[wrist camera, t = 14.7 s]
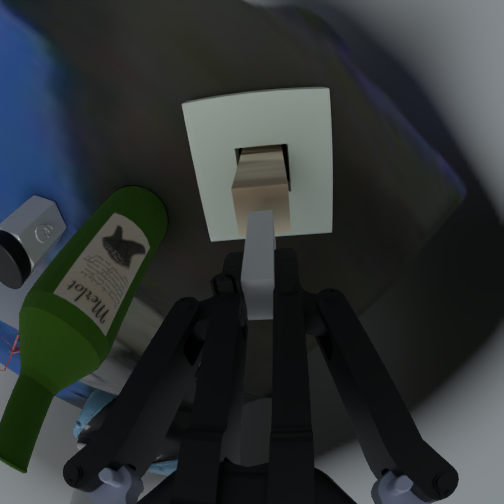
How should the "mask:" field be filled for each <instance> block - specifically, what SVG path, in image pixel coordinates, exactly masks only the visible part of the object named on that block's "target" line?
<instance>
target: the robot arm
mask: <svg viewBox="0 0 504 504" xmlns="http://www.w3.org/2000/svg"><path fill="white" fill-rule="evenodd" d="M210 283H211V286H212V290H213V293H214V296H213V297H211V298H209V299H207V300H203V301H200V302H198V301H197V300H196V299H195V298H193V297H184V298H181V299H180V300H178V301H177V302H176V303H175V304H174V305H173V307H172V308H171V310H170V312H169V313H168V315H167V316H166V318H165V319H164V321H163V323H162V324H161V326H160V328H159V329H158V331H157V332H156V334H155V336H154V337H153V339H152V340H151V342H150V344H149V345H148V347H147V349H146V350H145V352H144V354H143V355H142V357H141V359H140V360H139V362H138V364H137V365H136V367H135V369H134V370H133V372H132V374H131V375H130V377H129V379H128V380H127V382H126V384H125V385H124V387H123V389H122V391H121V392H120V394H119V396H117V395H112V394H110V393H107V392H105V391H102V390H96V391H94V392H93V393H92V394H91V395H90V397H89V398H88V400H87V402H86V403H85V405H84V407H83V409H82V411H81V413H80V415H79V417H78V420H77V422H76V424H75V426H74V429H73V435H74V436H75V437H77V438H78V442H77V448H78V449H79V452H78V453H76V454H75V455H74V456H73V457H72V458H71V459H70V460H68V461H67V463H66V464H65V465H64V468H63V477H64V479H65V481H66V482H67V484H68V485H69V486H71V487H73V488H74V489H73V494H72V498H71V503H70V504H357V503H356V502H355V501H354V500H353V499H352V498H351V497H350V496H348V495H347V494H346V493H345V492H344V491H343V490H342V489H341V488H340V487H339V486H338V485H337V484H336V483H335V482H334V481H333V480H332V479H331V478H330V477H329V476H328V475H327V474H325V473H324V472H322V471H321V470H319V469H317V468H314V447H313V446H314V444H313V432H312V425H311V406H310V389H309V375H308V362H307V348H306V336H305V333H306V334H311V335H315V338H316V340H317V343H318V345H319V347H320V349H321V352H322V354H323V356H324V359H325V361H326V363H327V366H328V368H329V371H330V373H331V375H332V378H333V380H334V382H335V384H336V386H337V389H338V392H339V394H340V397H341V399H342V401H343V404H344V406H345V409H346V411H347V413H348V416H349V419H350V421H351V423H352V426H353V428H354V431H355V433H356V436H357V438H358V441H359V443H360V446H361V448H362V451H363V453H364V456H365V458H366V461H367V463H368V465H369V467H370V469H371V471H372V472H373V474H374V475H375V477H376V478H377V479H378V480H377V481H376V482H375V483H374V485H373V487H372V490H371V496H372V498H373V501H374V503H375V504H431V503H433V502H435V501H439V500H442V499H444V498H447V497H448V496H450V495H451V494H452V493H453V492H454V491H455V489H456V487H457V485H458V480H459V478H458V473H457V471H456V470H455V469H454V468H453V466H451V465H450V464H449V463H448V462H447V461H446V460H445V459H444V458H443V457H441V456H440V455H439V454H438V453H437V452H436V451H435V450H434V449H433V448H432V447H430V446H429V445H428V444H427V443H426V442H425V441H424V440H423V439H422V437H421V435H420V433H419V431H418V429H417V427H416V425H415V423H414V421H413V419H412V417H411V415H410V413H409V411H408V409H407V407H406V405H405V403H404V401H403V400H402V397H401V395H400V394H399V392H398V390H397V388H396V386H395V384H394V382H393V380H392V379H391V377H390V375H389V373H388V371H387V369H386V368H385V365H384V364H383V362H382V360H381V358H380V356H379V355H378V353H377V351H376V349H375V348H374V346H373V344H372V342H371V341H370V339H369V337H368V335H367V333H366V332H365V330H364V328H363V326H362V325H361V323H360V321H359V320H358V318H357V316H356V315H355V313H354V311H353V309H352V308H351V306H350V304H349V303H348V301H347V299H346V298H345V296H344V295H343V293H342V292H341V291H339V290H337V289H332V288H329V289H324V290H322V291H320V292H319V293H318V294H313V293H309V292H307V291H305V290H304V289H302V287H301V286H300V283H299V274H298V266H297V257H296V253H295V251H294V250H293V249H292V248H286V249H276V241H275V231H274V220H273V210H264V211H251V212H249V215H248V224H247V232H246V240H245V248H244V252H237V253H229V254H228V256H227V257H226V258H225V261H224V266H223V271H222V273H220V274H218V275H216V276H215V277H213V278H212V280H211V282H210ZM247 316H248V320H262V319H273V375H272V426H271V434H270V450H269V463H265V464H261V465H256V466H252V467H244V466H241V465H240V452H239V442H240V430H241V415H242V403H243V390H244V376H245V363H246V349H247V336H248V326H247ZM200 362H201V364H200ZM199 364H200V369H197V368H198V366H199ZM146 471H148V472H152V473H156V474H161V475H168V477H167V478H166V479H164V480H163V481H162V482H161V483H160V484H159V485H158V486H157V487H155V488H154V489H153V490H152V491H150V492H149V493H148V494H147V495H146V496H144V497H143V498H142V499H141V500H139V501H138V502H137V500H138V497H139V495H140V493H142V492H143V490H144V486H143V482H142V480H141V477H142V476H143V475H144V474H145V473H146Z"/></svg>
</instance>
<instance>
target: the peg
mask: <svg viewBox="0 0 504 504" xmlns="http://www.w3.org/2000/svg"><path fill="white" fill-rule="evenodd" d="M231 191H232V197H233V203H234V209H235V215H236V221H237V226H238V232H239V236H246V232H247V224H248V215H249V212H251V211H264V210H273V220H274V231H275V234H277V233H290V232H291V222H290V206H289V192H288V181H287V176H286V170H285V164H284V158H283V150H282V147H281V144H276V145H265V146H254V147H245V148H243V150H242V153H241V154H240V160H239V163H238V167H237V170H236V174H235V177H234V181H233V184H232V188H231Z"/></svg>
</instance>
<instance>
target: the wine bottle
mask: <svg viewBox="0 0 504 504" xmlns="http://www.w3.org/2000/svg"><path fill="white" fill-rule="evenodd" d="M167 226H168V219H167V213H166V209H165V207H164V205H163V203H162V202H161V200H160V199H159V198H158V197H157V196H156V195H155V194H154V193H152V192H151V191H149V190H148V189H145V188H142V187H139V186H128V187H123V188H120V189H119V190H117V191H115V192H114V193H113V194H112V195H111V196H110V197H109V198H108V199H107V200H106V201H105V202H104V203H103V204H102V205H101V206H100V207H99V208H98V209H97V210H96V211H95V213H94V214H93V215H92V216H91V217H90V218H89V219H88V220H87V221H86V222H85V223H84V224H83V226H82V227H81V228H80V229H79V230H78V231H77V232H76V233H75V235H74V236H73V237H72V238H71V239H70V240H69V241H68V243H67V244H66V245H65V246H64V247H63V249H62V250H61V251H60V252H59V253H58V255H57V256H56V257H55V258H54V259H53V261H52V262H51V263H50V264H49V266H48V267H47V268H46V270H45V271H44V272H43V273H42V275H41V276H40V277H39V279H38V280H37V282H36V283H35V284H34V286H33V287H32V288H31V290H30V291H29V292H28V294H27V296H26V297H25V300H24V302H23V305H22V308H21V310H20V313H19V338H20V359H21V369H20V376H19V378H18V380H17V383H16V385H15V387H14V389H13V391H12V394H11V396H10V399H9V401H8V404H7V406H6V409H5V411H4V414H3V417H2V420H1V422H0V460H1V461H2V462H4V463H6V464H7V465H9V466H10V467H12V468H14V469H16V470H18V471H20V472H22V473H27V467H28V464H29V461H30V458H31V455H32V451H33V449H34V446H35V442H36V440H37V437H38V434H39V432H40V429H41V426H42V423H43V421H44V418H45V416H46V413H47V411H48V408H49V406H50V404H51V401H52V399H53V397H54V396H55V395H56V394H57V393H58V392H59V391H61V390H62V389H64V388H66V387H68V386H69V385H71V384H73V383H74V382H76V381H78V380H80V379H81V378H83V377H85V376H86V375H88V374H90V373H92V372H93V371H95V370H97V369H98V368H99V366H100V365H101V364H102V362H103V361H104V360H105V358H106V357H107V355H108V354H109V352H110V350H111V347H112V345H113V342H114V340H115V338H116V335H117V333H118V331H119V328H120V326H121V324H122V321H123V319H124V317H125V315H126V312H127V310H128V308H129V306H130V304H131V301H132V299H133V297H134V295H135V293H136V291H137V289H138V287H139V284H140V282H141V280H142V278H143V276H144V274H145V272H146V270H147V268H148V266H149V264H150V262H151V260H152V258H153V256H154V254H155V252H156V250H157V248H158V246H159V245H160V243H161V241H162V239H163V237H164V235H165V233H166V230H167Z"/></svg>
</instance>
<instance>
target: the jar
mask: <svg viewBox="0 0 504 504" xmlns="http://www.w3.org/2000/svg"><path fill="white" fill-rule="evenodd" d="M65 230H66V225H65V222H64V220H63V218H62V216H61V214H60V212H59V210H58V207H57V205H56V203H55V202H54V201H51V200H48V199H45V198H42V197H39V196H36V195H33V196H32V197H31V198H30V199H28V200H27V201H26V202H25V203H23V204H22V205H21V206H20V207H19V208H18V209H16V210H15V211H14V212H13V213H12V214H11V215H10V216H8V217H7V218H6V219H5V220H4V221H3V222H2V223H1V224H0V282H2V283H3V284H4V285H6V286H7V287H9V288H12V289H18V288H20V287H21V286H22V285H23V284H24V282H25V281H26V280H27V279H28V278H29V277H30V276H31V274H32V273H33V272H34V271H35V269H36V268H37V267H38V266H39V264H40V263H41V262H42V261H43V260H44V258H45V257H46V256H47V255H48V254H49V252H50V251H51V250H52V249H53V248H54V247H55V245H56V244H57V243H58V241H59V240H60V238H61V236H62V235H63V233H64V231H65Z"/></svg>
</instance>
